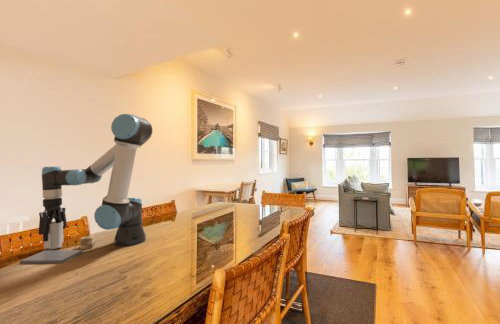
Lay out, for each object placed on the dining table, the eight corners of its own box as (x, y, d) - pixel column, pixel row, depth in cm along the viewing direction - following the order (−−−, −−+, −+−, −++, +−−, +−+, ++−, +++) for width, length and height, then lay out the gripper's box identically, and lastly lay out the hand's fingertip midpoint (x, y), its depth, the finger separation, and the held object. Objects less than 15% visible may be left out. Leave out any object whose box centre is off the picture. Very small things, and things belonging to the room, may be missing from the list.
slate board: (82, 252, 123) (82, 250, 123) (62, 263, 110) (61, 260, 110) (45, 252, 123) (45, 250, 123) (20, 263, 110) (20, 260, 110)
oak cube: (94, 245, 134) (94, 235, 134) (92, 248, 129) (92, 238, 129) (83, 246, 132) (83, 236, 132) (80, 249, 128) (80, 239, 128)
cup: (53, 250, 125) (52, 224, 125) (39, 249, 126) (38, 224, 126) (68, 245, 132) (67, 221, 133) (55, 244, 134) (54, 220, 134)
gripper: (60, 195, 140) (62, 239, 140) (26, 201, 120) (28, 252, 119) (74, 195, 140) (75, 238, 139) (42, 200, 119) (44, 251, 119)
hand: (54, 244), depth 129 cm, fingers closed on cup, 7 cm apart
